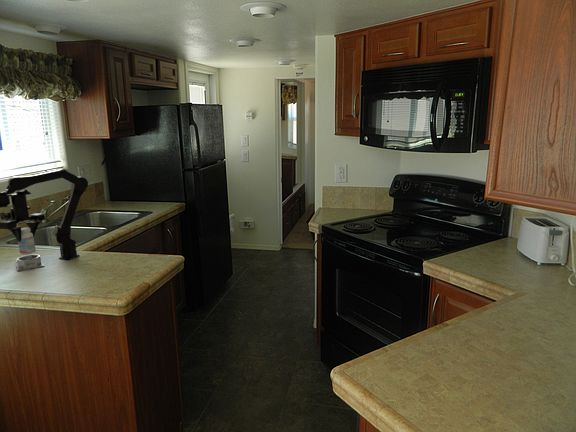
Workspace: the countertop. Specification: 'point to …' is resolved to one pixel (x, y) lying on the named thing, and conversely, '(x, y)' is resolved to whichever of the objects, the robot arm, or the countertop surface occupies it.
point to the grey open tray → (29, 262)
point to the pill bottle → (26, 242)
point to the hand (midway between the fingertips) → (25, 239)
